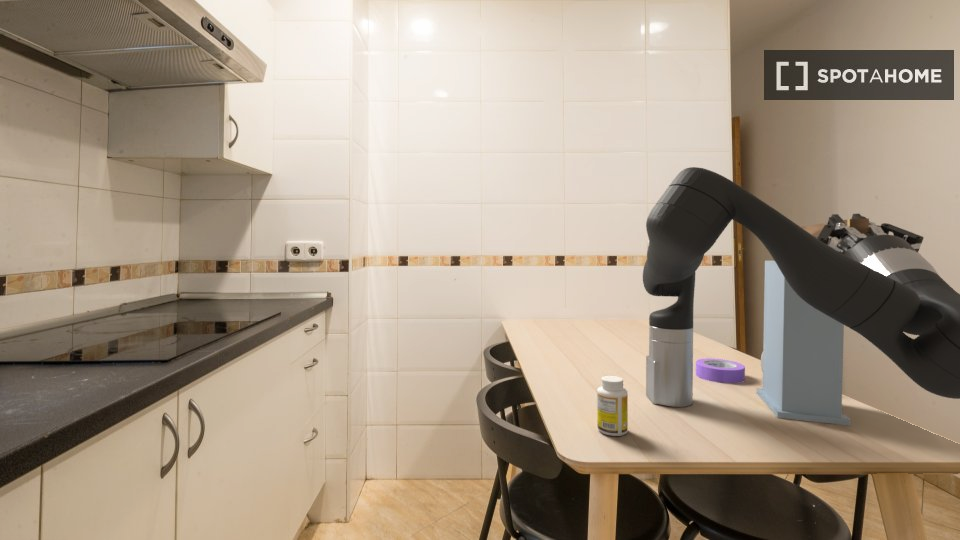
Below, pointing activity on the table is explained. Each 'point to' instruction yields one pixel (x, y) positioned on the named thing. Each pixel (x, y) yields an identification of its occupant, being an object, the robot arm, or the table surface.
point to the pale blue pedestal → (800, 356)
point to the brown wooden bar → (858, 224)
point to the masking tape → (720, 370)
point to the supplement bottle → (612, 406)
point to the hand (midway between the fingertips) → (843, 219)
